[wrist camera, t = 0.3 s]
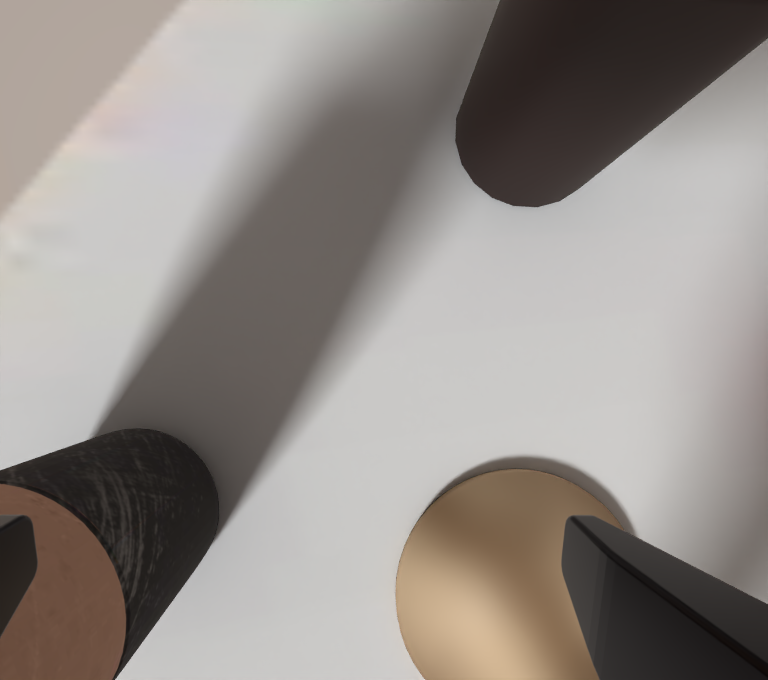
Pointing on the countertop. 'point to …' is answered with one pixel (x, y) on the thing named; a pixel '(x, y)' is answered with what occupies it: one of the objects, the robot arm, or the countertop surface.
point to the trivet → (495, 581)
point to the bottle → (588, 85)
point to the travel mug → (104, 550)
